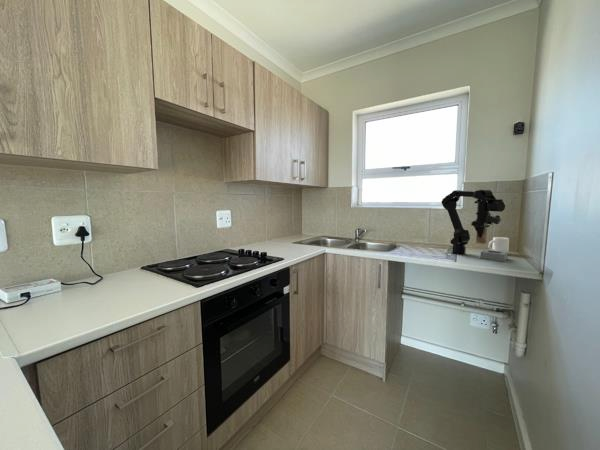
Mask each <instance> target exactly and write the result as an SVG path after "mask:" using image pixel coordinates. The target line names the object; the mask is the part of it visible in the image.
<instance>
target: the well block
mask: <svg viewBox="0 0 600 450" xmlns="http://www.w3.org/2000/svg"><path fill="white" fill-rule="evenodd" d="M508 257H509V251H508V252H503V251H494V250H489V249H484V250H482V251H481V252H480V259H483V260H488V261H497V262H501V263H504V262H506V260H508Z"/></svg>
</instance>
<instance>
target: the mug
mask: <svg viewBox="0 0 600 450" xmlns="http://www.w3.org/2000/svg"><path fill="white" fill-rule="evenodd" d="M509 246H510V238H509V237H502V236H501V237H500V236H494V237H492V240H490V241H489V243H488V245H487V247H488V250H494V251H503V252H508V253H509V251H510V250H509V248H510V247H509Z"/></svg>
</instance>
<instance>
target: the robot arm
mask: <svg viewBox="0 0 600 450" xmlns="http://www.w3.org/2000/svg"><path fill="white" fill-rule="evenodd" d="M460 197H466V198H473V199H476V200H475V201H474V202H473V204H477V208H476V209H477V210H476V213H475V215H476V219H475V220H473V221H471V224H470V226H473V228H474V230H475V231H476V235H477V234H478V236H479V237H480V238H481V237H482V234H483V230H484V228H486V227H487V229H488V228H489V227H491V226H492V225H499V224H500V223H501V222H502V218H501V216H500V215H495V216H493V215H492V213H491V212H503V211H504V210H505V209H506V204H505V202H504V201H503V199H500V198H499V199H497V198H496V197H495V195H494V194H493V191H492V190H491V189H477V190H458V189H457V190H456V189H454V190H452V192H450V193H449V194H447V195H445V197H444V198H442V199H441V205H442V206H443V208H444V209H445V210H446V211H447V214H448V216H449V218H450V219H449V220H450V222H451V224H452V227H453V229H454V232H453V238H452V239H450V244H451V245H452V252H451V254H456V255H465V254H466V252H467V251H466V250H467V247H466V245H468V243H469V241H470V240H471V235H470V231H469V230H468V229H465V228H464V226H463V224H462V222H461V220H460V216H459V214H458V211H457V202H459V200H460Z"/></svg>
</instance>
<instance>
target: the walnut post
mask: <svg viewBox="0 0 600 450" xmlns="http://www.w3.org/2000/svg"><path fill="white" fill-rule="evenodd" d="M487 234H488V228H487V227H486V228H484V230H483V234H482V237H481V238H480V237H479V236H478V234H477V233H476V239H475V240H476V241H475V243H476V244H481V245H482V244H483V245H484V244H487V238H488V237H487V236H488V235H487Z"/></svg>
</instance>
